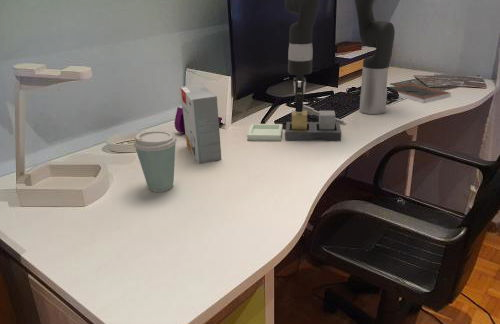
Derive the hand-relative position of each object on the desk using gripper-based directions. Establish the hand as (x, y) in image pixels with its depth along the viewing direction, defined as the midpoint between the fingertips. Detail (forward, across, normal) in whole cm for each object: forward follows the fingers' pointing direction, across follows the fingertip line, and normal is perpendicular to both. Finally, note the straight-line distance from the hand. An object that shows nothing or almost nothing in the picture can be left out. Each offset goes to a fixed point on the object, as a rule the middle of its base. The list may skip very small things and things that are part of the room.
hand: (299, 107), depth 136 cm
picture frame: (+10, +51, -50) cm, 72 cm away
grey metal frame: (+10, 0, -5) cm, 11 cm away
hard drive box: (+10, -16, +29) cm, 35 cm away
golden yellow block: (+10, 0, 0) cm, 10 cm away
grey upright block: (+10, 0, -9) cm, 13 cm away
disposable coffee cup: (+11, -39, +35) cm, 53 cm away
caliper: (+10, +16, -8) cm, 21 cm away
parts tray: (+10, 0, +11) cm, 15 cm away
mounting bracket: (+10, +5, +34) cm, 36 cm away
